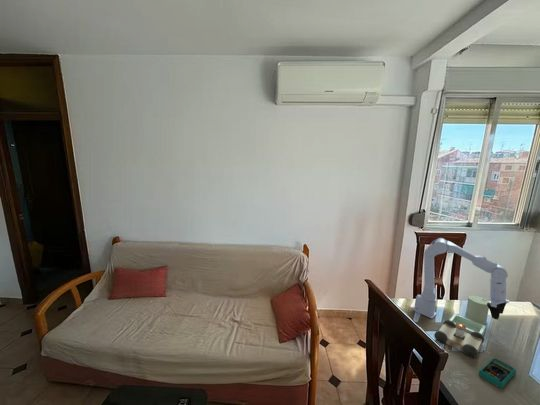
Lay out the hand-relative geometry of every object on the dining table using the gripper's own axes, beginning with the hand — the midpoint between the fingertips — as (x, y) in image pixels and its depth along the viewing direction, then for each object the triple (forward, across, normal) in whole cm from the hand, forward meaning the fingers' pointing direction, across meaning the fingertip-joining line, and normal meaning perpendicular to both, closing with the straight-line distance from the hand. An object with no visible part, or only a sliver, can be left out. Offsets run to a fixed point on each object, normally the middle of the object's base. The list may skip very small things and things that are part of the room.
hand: (497, 315), depth 119 cm
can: (+10, +8, +11) cm, 17 cm away
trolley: (+9, -22, +9) cm, 25 cm away
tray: (+9, -8, +10) cm, 16 cm away
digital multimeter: (+11, -31, -6) cm, 33 cm away
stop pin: (+9, -22, +9) cm, 25 cm away
